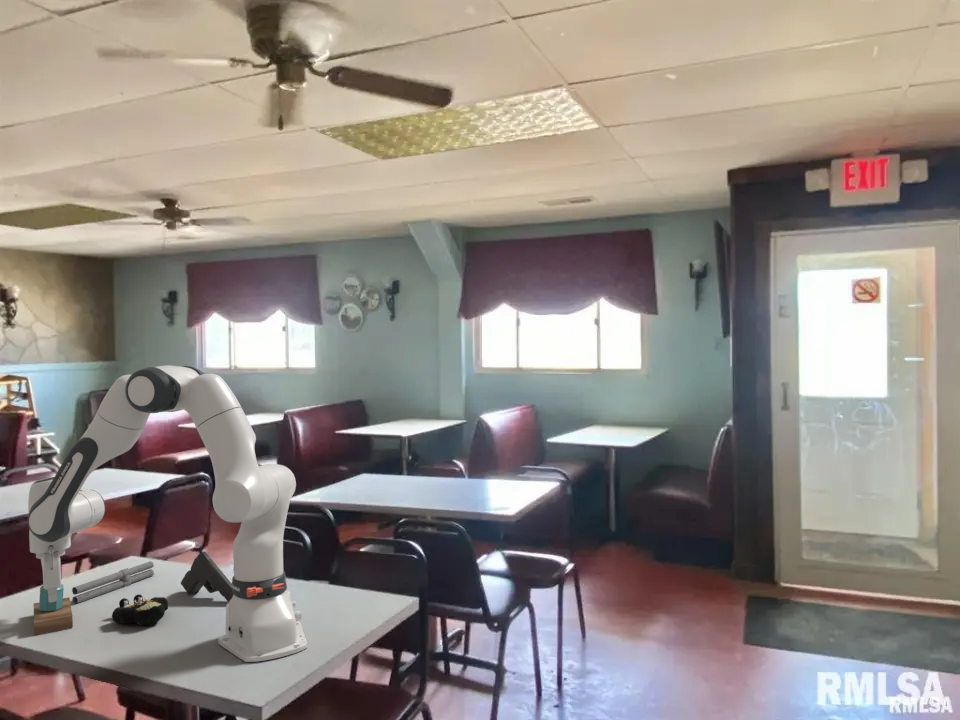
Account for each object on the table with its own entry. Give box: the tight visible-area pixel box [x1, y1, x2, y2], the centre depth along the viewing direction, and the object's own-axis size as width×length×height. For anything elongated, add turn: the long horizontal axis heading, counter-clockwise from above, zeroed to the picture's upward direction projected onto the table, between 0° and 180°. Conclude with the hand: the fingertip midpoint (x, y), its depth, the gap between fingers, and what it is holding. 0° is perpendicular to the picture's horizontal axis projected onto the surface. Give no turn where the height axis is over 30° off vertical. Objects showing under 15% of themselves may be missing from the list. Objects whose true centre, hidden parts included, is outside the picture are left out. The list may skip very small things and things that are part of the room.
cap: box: [38, 583, 64, 611], centre depth 183 cm, size 5×5×5 cm
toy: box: [111, 594, 169, 627], centre depth 182 cm, size 12×8×15 cm
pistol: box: [180, 551, 233, 603], centre depth 198 cm, size 18×4×13 cm
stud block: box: [33, 597, 74, 636], centre depth 183 cm, size 16×8×8 cm, turn 32°
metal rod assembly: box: [71, 560, 155, 604], centre depth 207 cm, size 26×3×5 cm, turn 157°
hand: (52, 597), depth 183 cm, fingers open, 6 cm apart
